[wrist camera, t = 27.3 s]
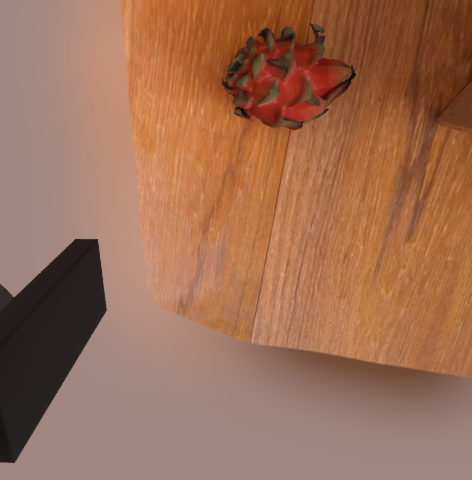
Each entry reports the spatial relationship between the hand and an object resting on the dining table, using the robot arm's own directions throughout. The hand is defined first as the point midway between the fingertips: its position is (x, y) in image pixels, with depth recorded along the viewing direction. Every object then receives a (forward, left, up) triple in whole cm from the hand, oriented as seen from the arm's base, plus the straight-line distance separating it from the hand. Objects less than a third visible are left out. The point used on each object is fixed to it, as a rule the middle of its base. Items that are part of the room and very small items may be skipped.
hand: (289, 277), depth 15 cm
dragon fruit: (+2, +6, -32) cm, 33 cm away
